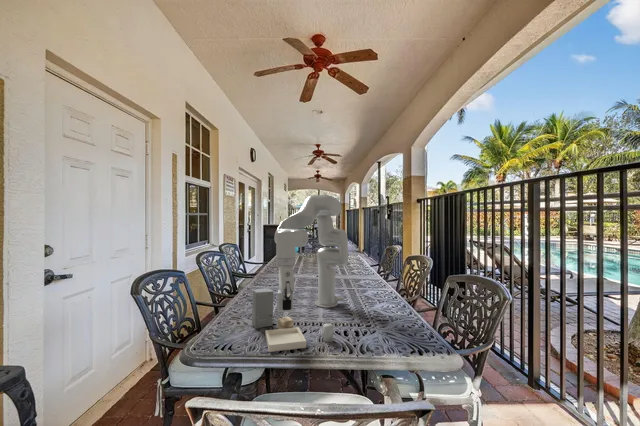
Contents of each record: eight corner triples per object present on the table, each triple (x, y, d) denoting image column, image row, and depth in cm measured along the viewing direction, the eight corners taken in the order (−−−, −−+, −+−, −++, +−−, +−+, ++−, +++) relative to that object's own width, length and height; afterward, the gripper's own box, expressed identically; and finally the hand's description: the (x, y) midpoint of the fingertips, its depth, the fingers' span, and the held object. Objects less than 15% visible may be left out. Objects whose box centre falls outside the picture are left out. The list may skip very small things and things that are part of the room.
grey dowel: (331, 337, 121) (331, 323, 121) (334, 341, 117) (334, 326, 118) (322, 338, 120) (322, 323, 120) (324, 342, 117) (324, 327, 117)
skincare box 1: (255, 329, 129) (255, 293, 129) (251, 323, 136) (251, 289, 136) (273, 325, 133) (274, 290, 133) (269, 320, 140) (269, 287, 140)
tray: (298, 332, 126) (298, 327, 126) (306, 347, 112) (306, 341, 112) (265, 336, 122) (265, 330, 122) (269, 352, 108) (269, 345, 108)
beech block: (288, 327, 132) (288, 316, 132) (293, 331, 127) (293, 320, 127) (277, 329, 129) (277, 318, 129) (282, 333, 125) (282, 322, 125)
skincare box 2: (278, 307, 120) (278, 288, 120) (293, 306, 120) (293, 288, 120) (276, 312, 114) (277, 293, 114) (292, 311, 114) (292, 292, 114)
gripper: (299, 265, 110) (299, 313, 110) (291, 258, 126) (290, 299, 126) (279, 266, 108) (278, 314, 108) (273, 258, 124) (273, 300, 124)
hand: (285, 306), depth 117 cm, fingers closed on skincare box 2, 6 cm apart
